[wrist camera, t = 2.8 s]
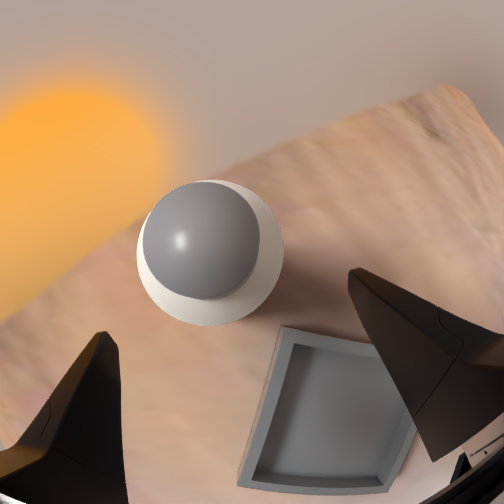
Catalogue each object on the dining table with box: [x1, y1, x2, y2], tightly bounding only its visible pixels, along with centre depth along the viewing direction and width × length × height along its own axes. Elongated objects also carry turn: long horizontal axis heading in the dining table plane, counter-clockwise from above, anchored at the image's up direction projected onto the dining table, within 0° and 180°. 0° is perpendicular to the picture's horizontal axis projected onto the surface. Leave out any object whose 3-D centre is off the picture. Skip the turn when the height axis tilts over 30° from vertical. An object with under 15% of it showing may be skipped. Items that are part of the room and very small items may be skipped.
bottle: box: [137, 180, 284, 326], centre depth 13 cm, size 5×5×12 cm
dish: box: [237, 326, 417, 495], centre depth 16 cm, size 12×12×2 cm
